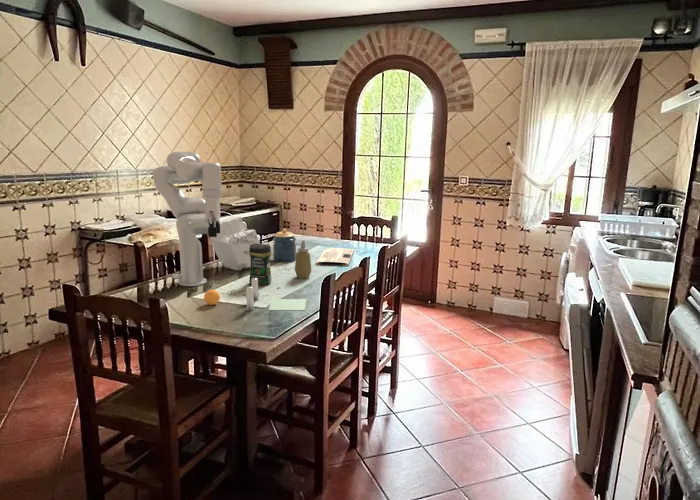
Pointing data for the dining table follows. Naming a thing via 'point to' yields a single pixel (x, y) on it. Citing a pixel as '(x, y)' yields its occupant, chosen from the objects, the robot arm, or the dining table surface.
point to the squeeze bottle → (303, 262)
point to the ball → (211, 297)
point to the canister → (284, 246)
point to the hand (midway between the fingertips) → (214, 235)
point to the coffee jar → (260, 263)
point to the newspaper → (336, 256)
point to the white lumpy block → (234, 243)
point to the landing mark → (287, 304)
